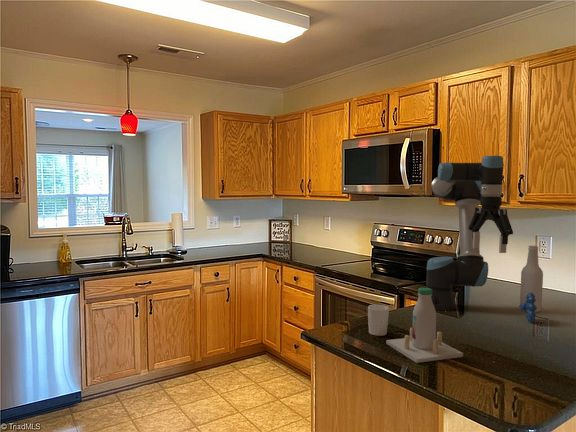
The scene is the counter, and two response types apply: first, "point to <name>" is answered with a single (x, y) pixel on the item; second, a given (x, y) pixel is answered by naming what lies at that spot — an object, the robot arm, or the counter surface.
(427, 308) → the milk bottle
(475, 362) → the counter surface
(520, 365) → the counter surface
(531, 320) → the grapes
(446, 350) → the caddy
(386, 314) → the white cup
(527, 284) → the alcohol
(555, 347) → the counter surface
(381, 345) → the counter surface
